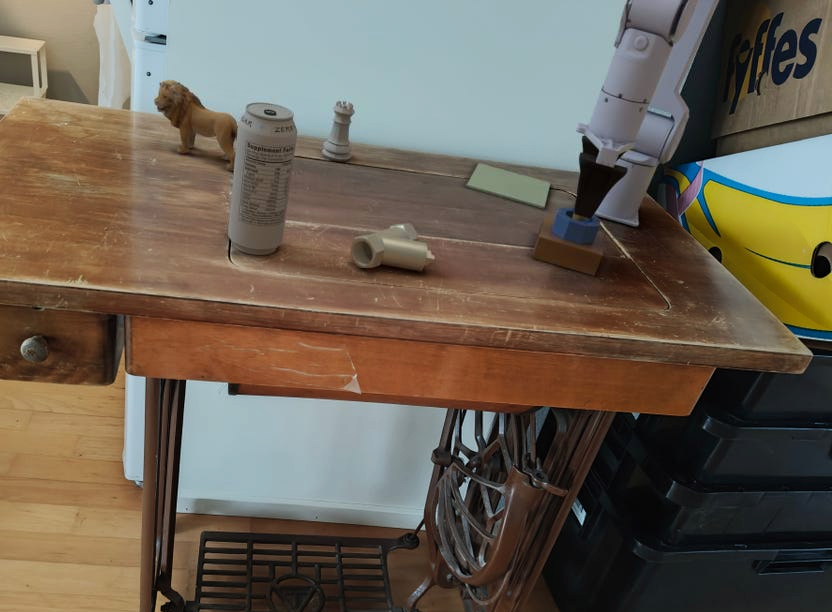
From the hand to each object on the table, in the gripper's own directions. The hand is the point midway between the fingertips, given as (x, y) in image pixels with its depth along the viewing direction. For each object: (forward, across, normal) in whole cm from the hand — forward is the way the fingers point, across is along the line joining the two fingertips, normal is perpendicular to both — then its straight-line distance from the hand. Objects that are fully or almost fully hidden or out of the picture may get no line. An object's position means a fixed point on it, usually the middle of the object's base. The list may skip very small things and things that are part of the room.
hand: (583, 205), depth 91 cm
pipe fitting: (+7, +18, -19) cm, 27 cm away
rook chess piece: (+7, -12, -36) cm, 39 cm away
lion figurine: (+7, +3, -51) cm, 52 cm away
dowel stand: (+7, 0, 0) cm, 7 cm away
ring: (+4, 0, 0) cm, 4 cm away
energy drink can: (+7, +23, -34) cm, 42 cm away
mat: (+7, -21, -10) cm, 24 cm away
